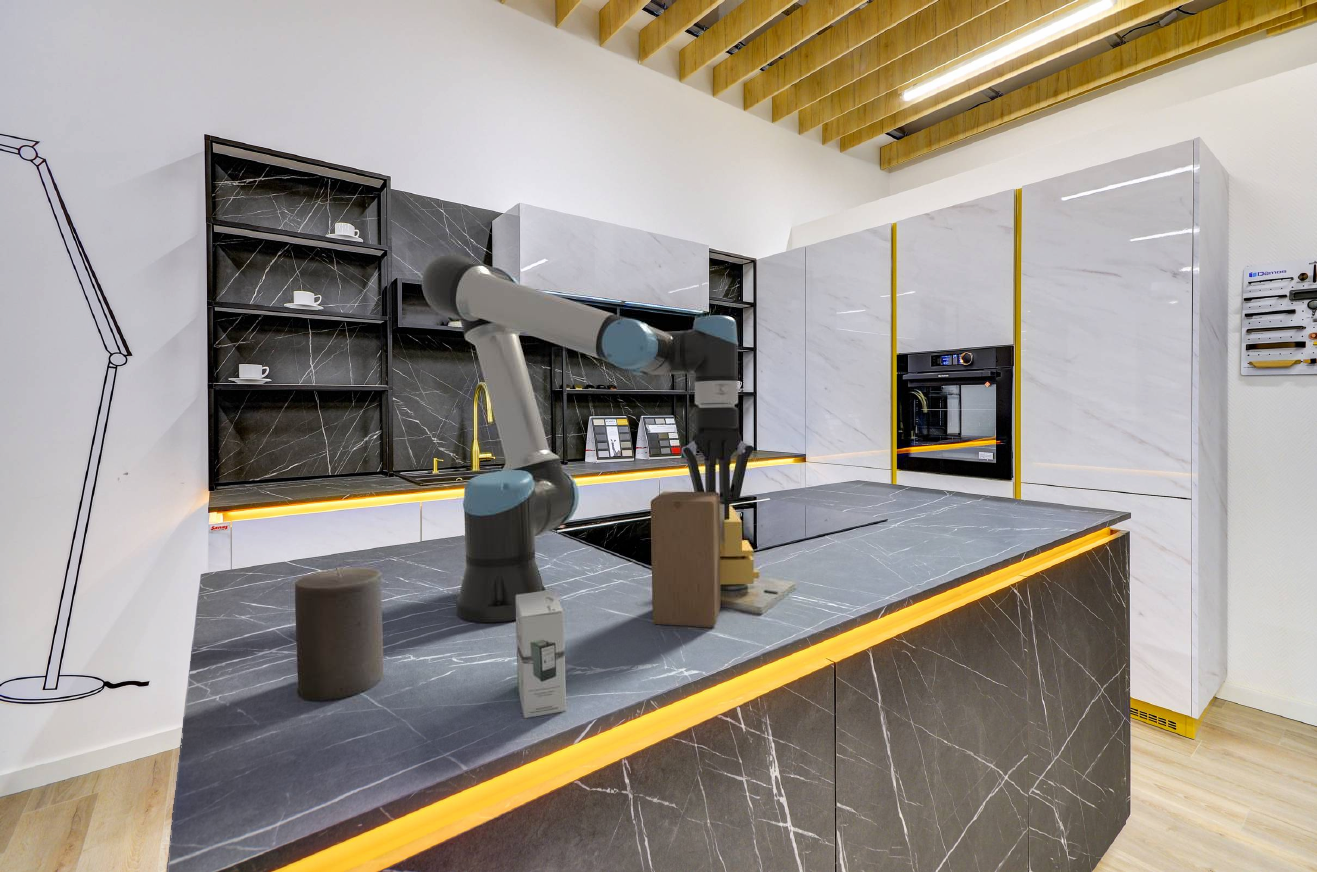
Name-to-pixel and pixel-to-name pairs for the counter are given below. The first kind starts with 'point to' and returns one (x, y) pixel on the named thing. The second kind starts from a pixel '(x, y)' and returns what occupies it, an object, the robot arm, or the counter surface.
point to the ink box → (540, 653)
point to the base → (755, 593)
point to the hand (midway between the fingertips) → (718, 540)
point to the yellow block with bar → (736, 554)
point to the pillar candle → (338, 633)
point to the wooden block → (685, 558)
